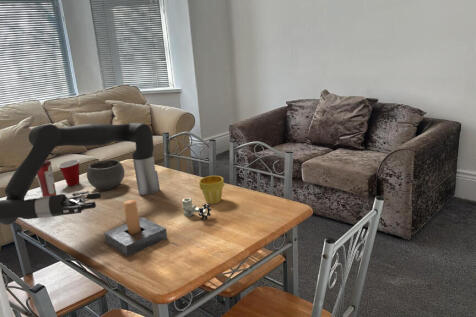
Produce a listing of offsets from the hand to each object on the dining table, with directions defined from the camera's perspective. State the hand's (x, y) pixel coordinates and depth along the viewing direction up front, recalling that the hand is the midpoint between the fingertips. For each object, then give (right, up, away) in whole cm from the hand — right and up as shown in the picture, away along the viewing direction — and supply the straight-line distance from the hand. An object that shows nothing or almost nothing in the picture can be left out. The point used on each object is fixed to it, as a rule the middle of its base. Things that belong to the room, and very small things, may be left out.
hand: (97, 199), depth 150 cm
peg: (+13, -15, +1) cm, 20 cm away
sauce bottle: (-38, -6, +48) cm, 61 cm away
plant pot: (+40, -4, +31) cm, 51 cm away
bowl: (-15, 0, +59) cm, 61 cm away
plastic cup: (-36, +1, +69) cm, 78 cm away
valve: (+33, -9, +17) cm, 39 cm away
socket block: (+14, -15, +1) cm, 20 cm away
